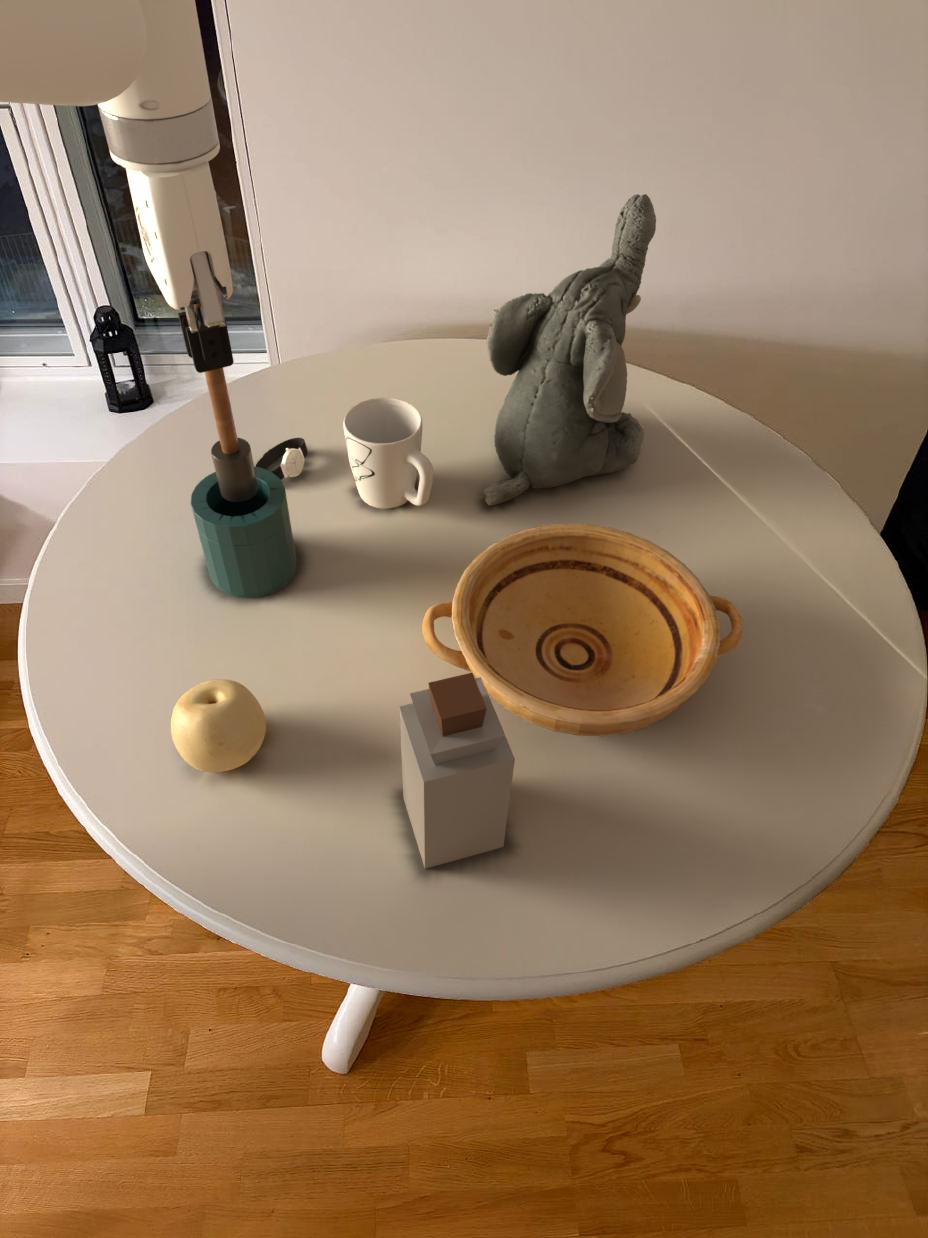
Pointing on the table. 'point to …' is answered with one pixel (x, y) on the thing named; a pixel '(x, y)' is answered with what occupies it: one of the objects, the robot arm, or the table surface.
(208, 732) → the apple
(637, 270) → the stuffed elephant
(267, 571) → the teal hollow cylinder
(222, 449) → the brush
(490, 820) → the perfume bottle
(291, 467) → the watch
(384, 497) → the mug
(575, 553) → the ceramic bowl
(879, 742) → the table surface
